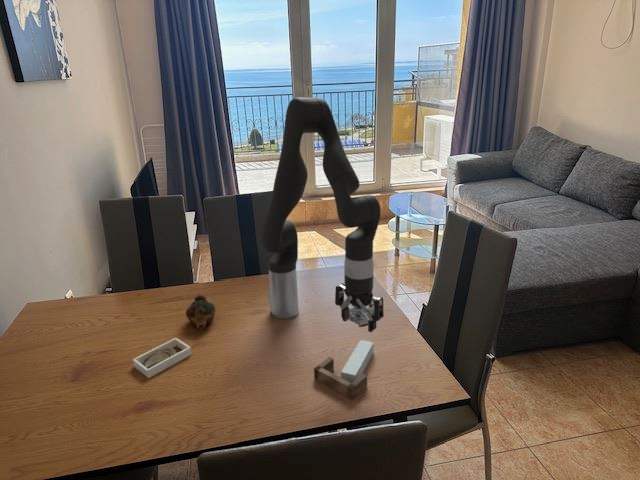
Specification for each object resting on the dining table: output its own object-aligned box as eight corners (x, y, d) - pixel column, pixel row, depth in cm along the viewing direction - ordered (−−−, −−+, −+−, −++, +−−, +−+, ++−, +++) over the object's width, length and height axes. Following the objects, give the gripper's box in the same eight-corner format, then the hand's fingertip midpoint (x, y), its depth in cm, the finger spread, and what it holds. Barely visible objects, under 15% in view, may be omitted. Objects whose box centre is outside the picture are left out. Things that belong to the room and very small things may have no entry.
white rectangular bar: (341, 384, 120) (341, 371, 118) (360, 350, 133) (360, 339, 132) (355, 387, 118) (355, 375, 117) (373, 353, 132) (373, 342, 130)
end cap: (314, 378, 122) (314, 368, 120) (329, 367, 126) (329, 356, 125) (352, 399, 114) (352, 388, 112) (367, 386, 118) (367, 375, 117)
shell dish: (134, 366, 129) (132, 359, 128) (177, 344, 139) (175, 337, 138) (148, 378, 124) (147, 370, 123) (192, 354, 134) (190, 347, 133)
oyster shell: (155, 379, 130) (181, 353, 133) (153, 380, 127) (179, 353, 130) (140, 365, 130) (166, 339, 133) (138, 366, 127) (164, 339, 130)
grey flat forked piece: (371, 326, 146) (371, 321, 145) (351, 329, 145) (351, 323, 144) (354, 297, 165) (354, 292, 164) (336, 300, 164) (336, 295, 163)
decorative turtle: (213, 308, 159) (212, 289, 156) (218, 332, 146) (217, 312, 143) (185, 312, 156) (183, 292, 153) (188, 337, 143) (186, 316, 140)
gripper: (328, 269, 116) (329, 322, 122) (373, 284, 108) (372, 341, 114) (345, 260, 122) (346, 311, 128) (390, 273, 113) (388, 328, 119)
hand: (358, 325), depth 121 cm, fingers open, 8 cm apart
